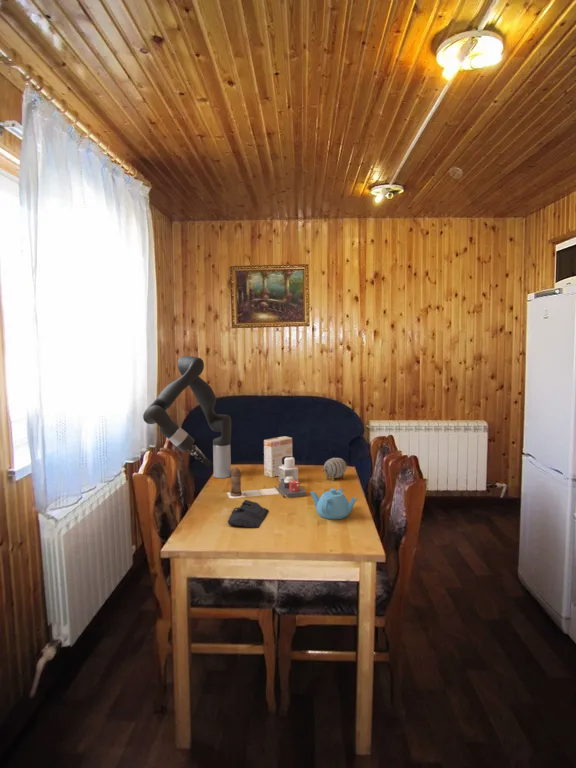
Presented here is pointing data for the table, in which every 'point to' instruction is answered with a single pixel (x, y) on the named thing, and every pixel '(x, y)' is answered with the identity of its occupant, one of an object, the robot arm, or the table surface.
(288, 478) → the dome
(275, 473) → the coffeecake box
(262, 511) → the black folded cloth
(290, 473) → the container
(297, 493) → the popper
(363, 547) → the table surface
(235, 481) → the pawn
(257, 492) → the board
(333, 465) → the toy sheep
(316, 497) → the teapot
